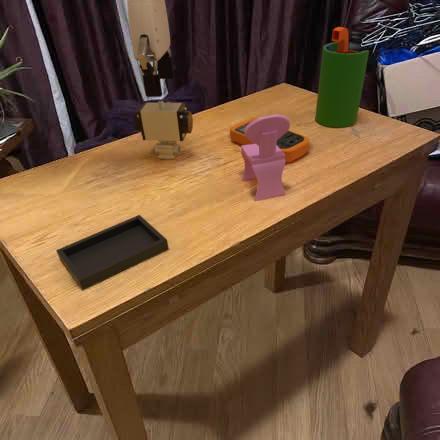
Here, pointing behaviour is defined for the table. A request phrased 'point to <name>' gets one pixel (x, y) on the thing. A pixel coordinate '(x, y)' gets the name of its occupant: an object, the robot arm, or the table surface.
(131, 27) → the robot arm
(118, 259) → the black tray
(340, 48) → the green cylindrical container
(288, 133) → the multimeter
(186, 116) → the pneumatic valve
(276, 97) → the table surface
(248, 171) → the toy chair
